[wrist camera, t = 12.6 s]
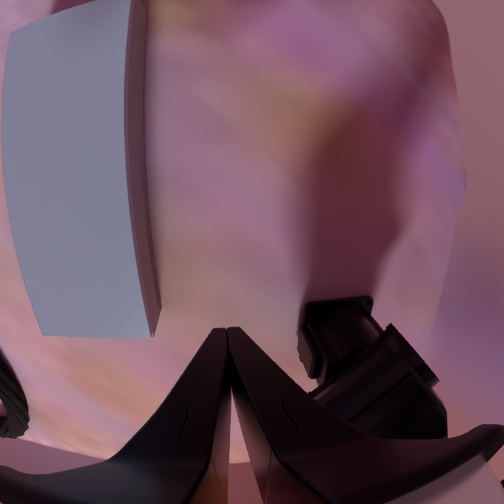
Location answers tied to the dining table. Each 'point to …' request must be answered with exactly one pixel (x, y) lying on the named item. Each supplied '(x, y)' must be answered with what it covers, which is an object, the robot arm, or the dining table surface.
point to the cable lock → (12, 406)
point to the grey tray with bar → (140, 161)
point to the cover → (74, 171)
